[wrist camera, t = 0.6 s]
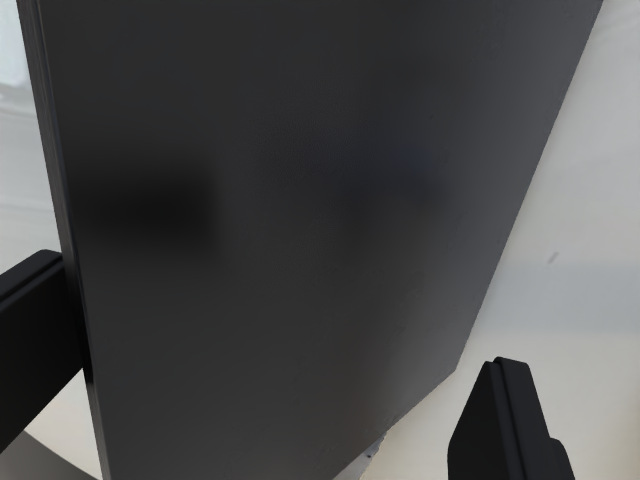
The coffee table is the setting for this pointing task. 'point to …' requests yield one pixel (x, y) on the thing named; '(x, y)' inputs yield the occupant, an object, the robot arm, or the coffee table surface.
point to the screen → (283, 210)
